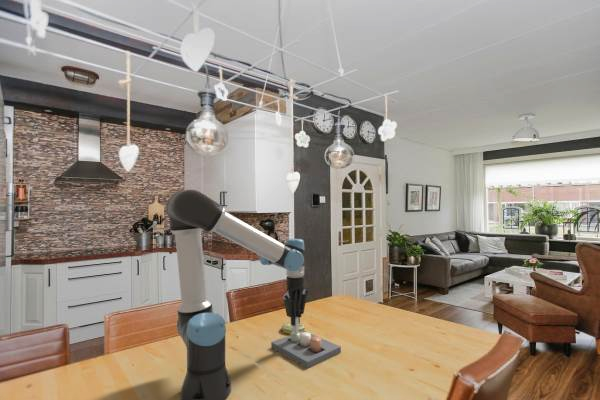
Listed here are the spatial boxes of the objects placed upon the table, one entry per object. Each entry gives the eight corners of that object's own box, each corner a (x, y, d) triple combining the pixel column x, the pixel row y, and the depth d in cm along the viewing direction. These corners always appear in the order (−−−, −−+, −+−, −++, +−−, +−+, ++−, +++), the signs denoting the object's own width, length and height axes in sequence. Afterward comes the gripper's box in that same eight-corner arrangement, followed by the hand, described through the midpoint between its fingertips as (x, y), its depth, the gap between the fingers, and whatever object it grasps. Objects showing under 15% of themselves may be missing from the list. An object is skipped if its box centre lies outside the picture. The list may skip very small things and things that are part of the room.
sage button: (295, 346, 126) (295, 337, 126) (288, 343, 130) (288, 333, 130) (303, 343, 129) (303, 334, 129) (296, 340, 133) (296, 330, 133)
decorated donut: (308, 330, 147) (308, 322, 147) (297, 338, 138) (297, 330, 138) (289, 326, 152) (289, 318, 152) (277, 334, 143) (277, 325, 143)
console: (307, 370, 111) (307, 362, 111) (271, 349, 127) (271, 342, 127) (340, 354, 123) (340, 346, 123) (303, 337, 139) (303, 330, 139)
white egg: (305, 347, 122) (305, 337, 122) (297, 344, 125) (297, 334, 125) (313, 344, 125) (313, 334, 125) (305, 340, 128) (305, 331, 128)
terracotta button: (315, 353, 117) (315, 342, 117) (307, 349, 121) (307, 338, 121) (323, 349, 120) (323, 339, 120) (315, 345, 124) (315, 335, 124)
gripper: (289, 279, 123) (288, 339, 122) (312, 275, 132) (312, 331, 131) (277, 276, 129) (277, 333, 128) (301, 272, 137) (300, 326, 137)
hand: (295, 332), depth 129 cm, fingers closed
